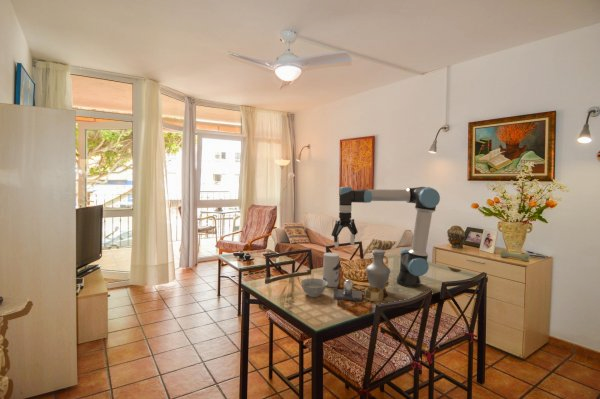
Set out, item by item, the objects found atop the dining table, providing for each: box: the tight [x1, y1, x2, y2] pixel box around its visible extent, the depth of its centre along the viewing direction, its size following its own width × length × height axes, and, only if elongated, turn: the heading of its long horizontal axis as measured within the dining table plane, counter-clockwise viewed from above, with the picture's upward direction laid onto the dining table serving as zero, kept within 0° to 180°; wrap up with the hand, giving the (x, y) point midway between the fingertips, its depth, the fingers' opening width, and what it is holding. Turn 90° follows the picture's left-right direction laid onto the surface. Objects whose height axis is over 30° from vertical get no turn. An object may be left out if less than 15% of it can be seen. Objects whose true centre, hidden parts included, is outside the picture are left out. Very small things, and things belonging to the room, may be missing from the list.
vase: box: [365, 248, 391, 290], centre depth 202 cm, size 14×14×25 cm
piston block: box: [333, 278, 363, 302], centre depth 193 cm, size 16×12×10 cm
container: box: [322, 252, 340, 288], centre depth 211 cm, size 10×10×20 cm
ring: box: [364, 285, 384, 302], centre depth 191 cm, size 10×10×5 cm
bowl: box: [299, 277, 328, 298], centre depth 193 cm, size 16×16×8 cm
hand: (344, 245), depth 205 cm, fingers open, 13 cm apart
